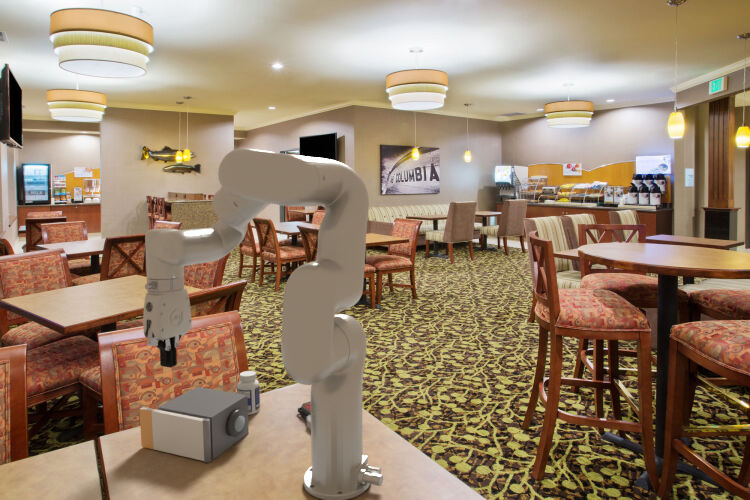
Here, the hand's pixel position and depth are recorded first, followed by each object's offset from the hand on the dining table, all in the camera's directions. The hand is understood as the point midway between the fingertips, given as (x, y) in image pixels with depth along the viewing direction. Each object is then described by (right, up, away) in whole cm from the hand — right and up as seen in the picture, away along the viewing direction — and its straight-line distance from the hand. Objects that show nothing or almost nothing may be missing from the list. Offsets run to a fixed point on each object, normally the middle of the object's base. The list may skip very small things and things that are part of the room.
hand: (168, 365), depth 109 cm
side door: (+5, -16, -8) cm, 19 cm away
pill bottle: (+15, -15, +13) cm, 25 cm away
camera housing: (+9, -16, -2) cm, 18 cm away
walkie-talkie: (+35, -16, +5) cm, 39 cm away
